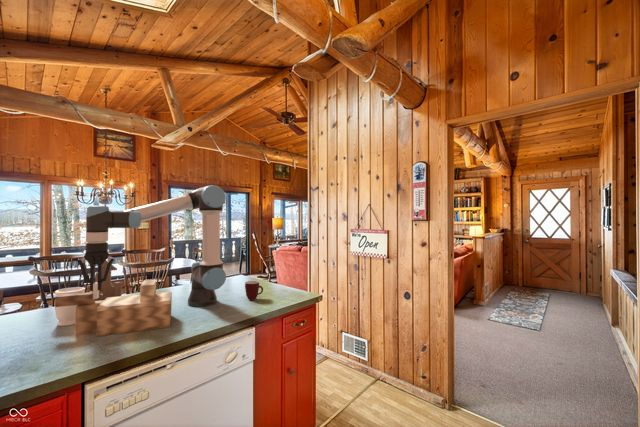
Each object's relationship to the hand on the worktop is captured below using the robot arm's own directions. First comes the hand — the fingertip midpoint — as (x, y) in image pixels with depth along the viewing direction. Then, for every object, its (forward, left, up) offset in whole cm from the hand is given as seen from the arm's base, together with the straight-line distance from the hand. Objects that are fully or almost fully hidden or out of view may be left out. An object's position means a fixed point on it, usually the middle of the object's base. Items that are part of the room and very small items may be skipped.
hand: (95, 298), depth 123 cm
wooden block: (+7, 0, -2) cm, 7 cm away
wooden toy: (+5, -37, -14) cm, 40 cm away
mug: (-71, -21, -14) cm, 76 cm away
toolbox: (-11, 0, -14) cm, 18 cm away
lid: (-15, 0, -4) cm, 16 cm away
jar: (+13, -15, -14) cm, 24 cm away
